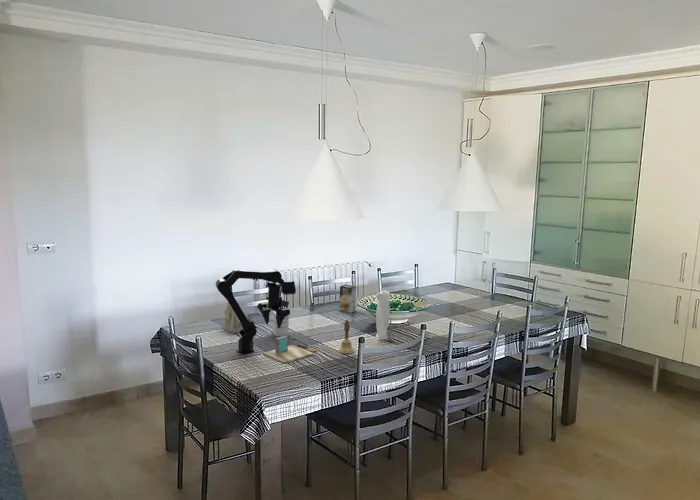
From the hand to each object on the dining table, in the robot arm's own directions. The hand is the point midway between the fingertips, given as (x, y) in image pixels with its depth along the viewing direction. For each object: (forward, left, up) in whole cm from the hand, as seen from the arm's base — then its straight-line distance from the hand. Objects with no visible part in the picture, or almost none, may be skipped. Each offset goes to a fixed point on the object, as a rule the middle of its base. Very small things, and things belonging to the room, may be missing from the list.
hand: (273, 325), depth 265 cm
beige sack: (+7, +39, -12) cm, 42 cm away
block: (0, -7, -11) cm, 13 cm away
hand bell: (+26, -26, -12) cm, 39 cm away
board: (+1, -11, -12) cm, 16 cm away
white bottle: (+55, -25, -12) cm, 61 cm away
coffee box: (+81, +26, -12) cm, 85 cm away
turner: (+13, -10, -12) cm, 20 cm away
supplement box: (+18, +16, -12) cm, 27 cm away
